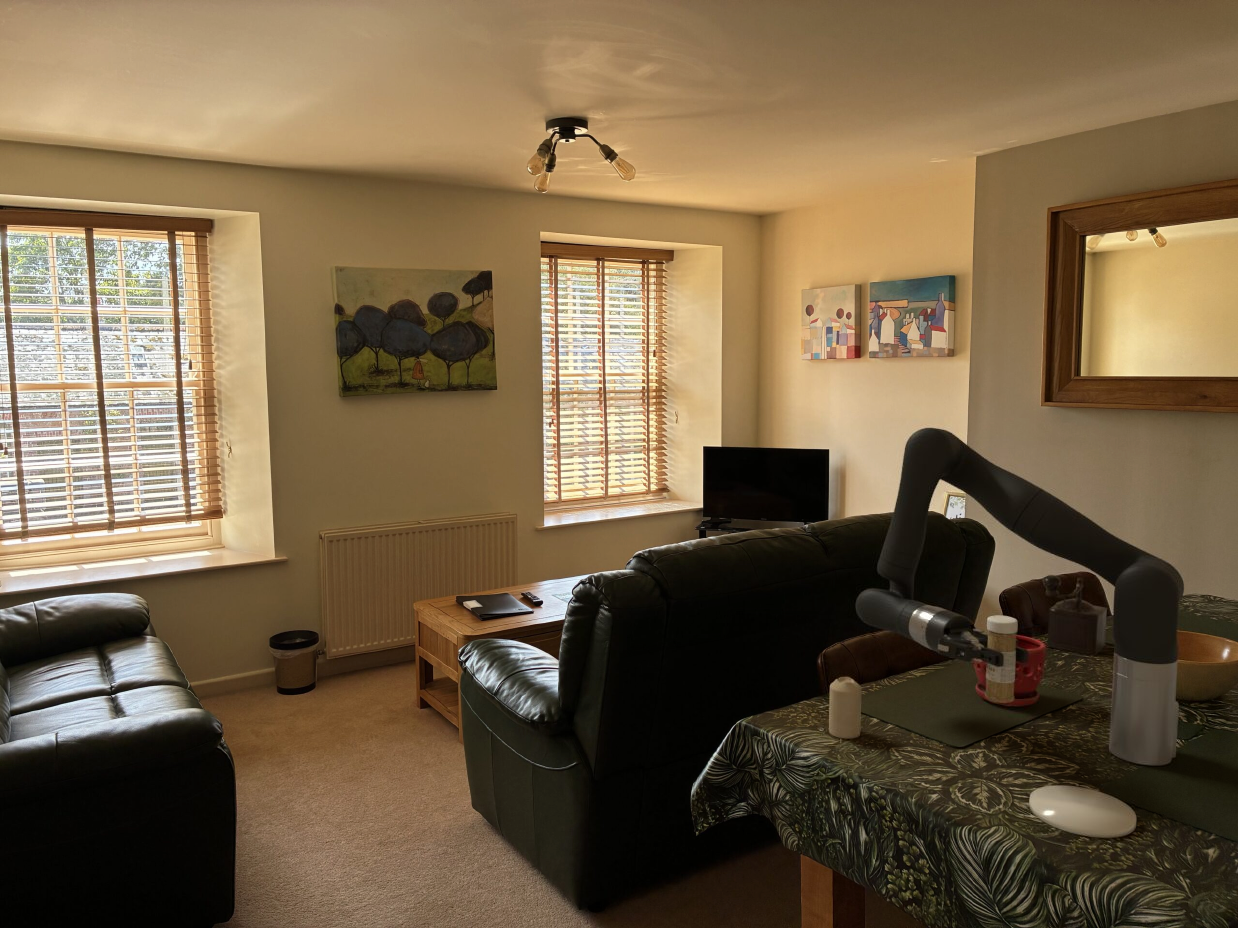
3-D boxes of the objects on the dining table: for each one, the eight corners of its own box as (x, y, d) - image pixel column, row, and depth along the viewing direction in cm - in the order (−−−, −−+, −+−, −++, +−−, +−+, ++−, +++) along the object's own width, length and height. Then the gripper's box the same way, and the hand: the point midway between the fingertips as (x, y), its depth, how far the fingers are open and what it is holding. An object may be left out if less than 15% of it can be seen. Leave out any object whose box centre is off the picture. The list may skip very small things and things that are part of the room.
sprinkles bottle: (979, 694, 151) (981, 614, 150) (1005, 693, 151) (1008, 613, 150) (993, 704, 146) (996, 622, 145) (1020, 703, 147) (1023, 621, 146)
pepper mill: (1056, 637, 223) (1059, 564, 221) (1106, 645, 215) (1110, 570, 213) (1036, 652, 211) (1039, 575, 209) (1088, 661, 204) (1092, 582, 202)
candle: (861, 740, 161) (862, 685, 160) (829, 737, 162) (830, 683, 161) (859, 728, 167) (860, 674, 166) (828, 725, 168) (829, 673, 167)
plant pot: (1052, 712, 174) (1055, 651, 173) (980, 708, 176) (982, 648, 175) (1032, 688, 187) (1035, 631, 185) (965, 685, 189) (967, 629, 187)
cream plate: (1078, 785, 143) (1078, 779, 143) (1159, 826, 130) (1159, 820, 130) (1008, 800, 138) (1008, 794, 138) (1084, 845, 125) (1084, 838, 125)
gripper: (908, 613, 159) (979, 641, 143) (974, 605, 164) (1049, 631, 148) (907, 655, 159) (977, 687, 143) (972, 646, 164) (1047, 676, 148)
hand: (1013, 658), depth 146 cm, fingers closed on sprinkles bottle, 4 cm apart
